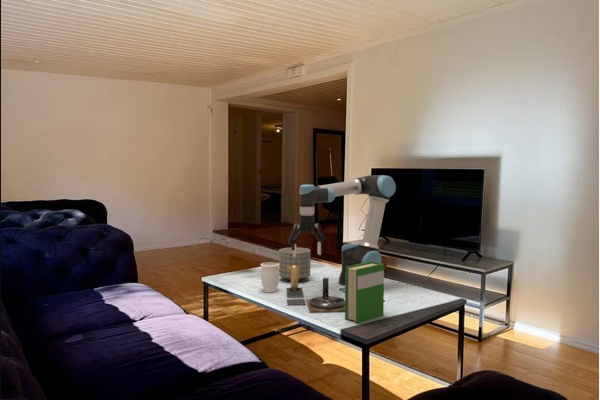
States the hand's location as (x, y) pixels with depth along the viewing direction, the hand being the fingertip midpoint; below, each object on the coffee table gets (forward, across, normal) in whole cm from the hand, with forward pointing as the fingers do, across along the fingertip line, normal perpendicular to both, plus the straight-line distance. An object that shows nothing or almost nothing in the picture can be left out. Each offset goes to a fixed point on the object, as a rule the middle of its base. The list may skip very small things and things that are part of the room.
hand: (307, 255), depth 231 cm
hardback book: (+23, -14, +37) cm, 45 cm away
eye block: (+23, +4, -8) cm, 24 cm away
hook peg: (+23, +5, -8) cm, 25 cm away
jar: (+23, +14, -21) cm, 34 cm away
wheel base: (+23, -5, +16) cm, 28 cm away
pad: (+23, +8, +5) cm, 24 cm away
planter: (+23, -7, -39) cm, 46 cm away
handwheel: (+21, -5, +16) cm, 27 cm away
